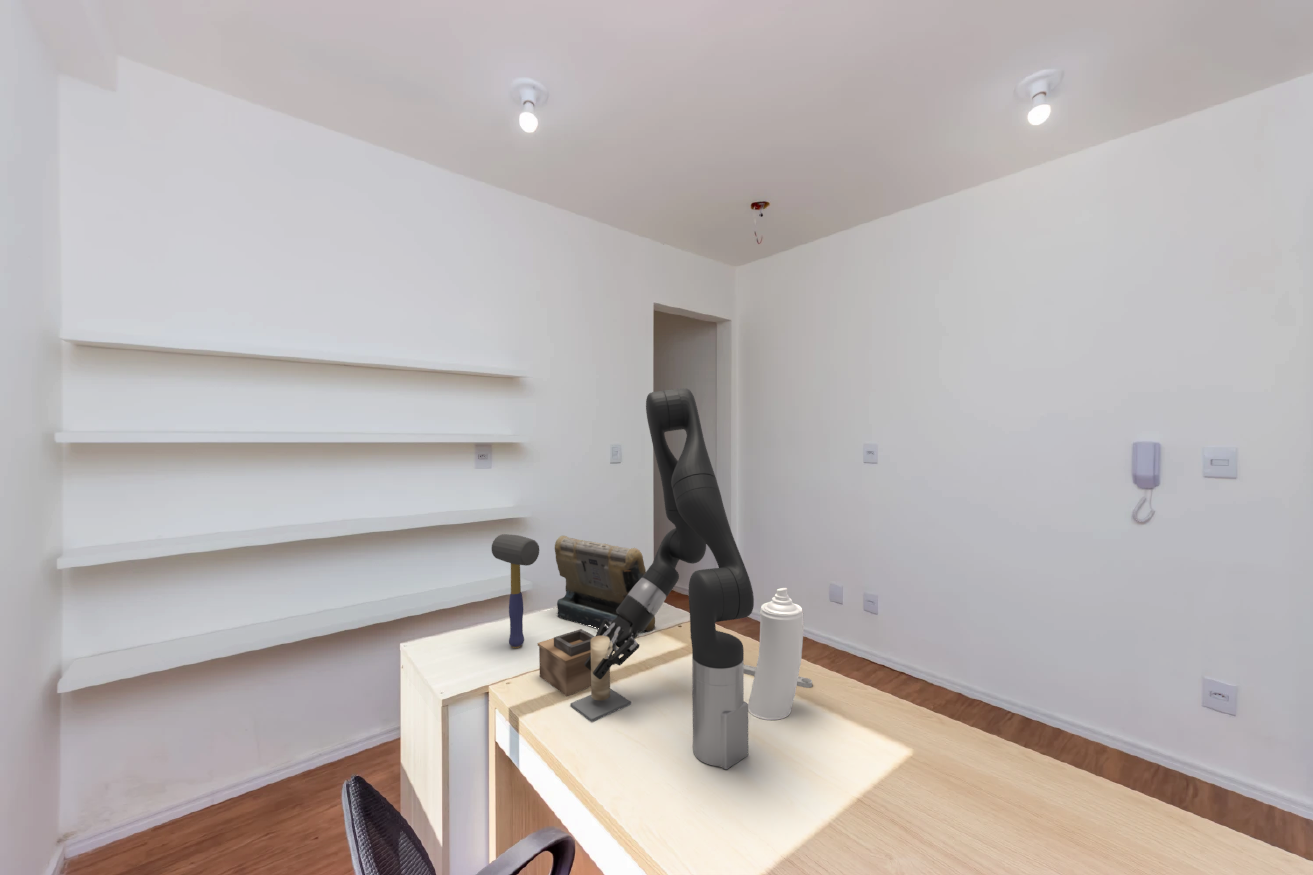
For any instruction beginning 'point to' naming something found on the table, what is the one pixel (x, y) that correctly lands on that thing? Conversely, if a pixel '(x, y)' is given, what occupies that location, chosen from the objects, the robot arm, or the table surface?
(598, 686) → the wooden cylinder
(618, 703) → the rubber mat
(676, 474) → the robot arm
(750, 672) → the adjustable wrench
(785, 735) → the table surface
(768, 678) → the spray can
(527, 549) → the rubber mallet
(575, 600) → the tablet
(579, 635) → the wooden box
